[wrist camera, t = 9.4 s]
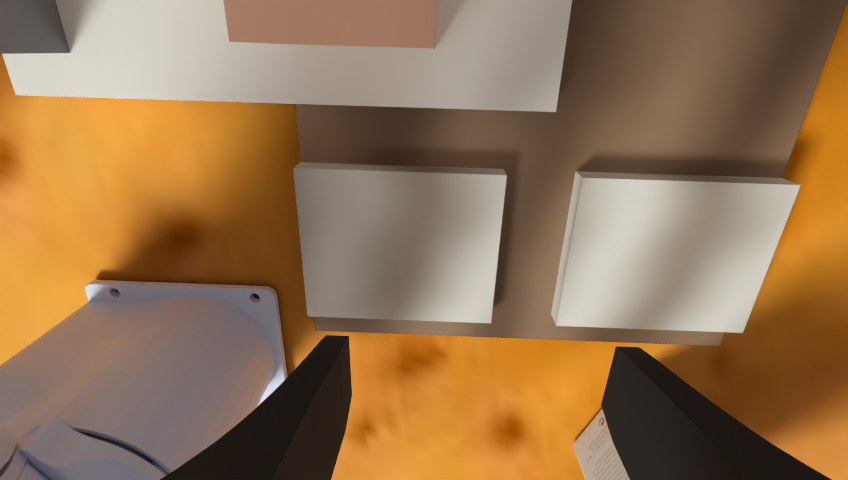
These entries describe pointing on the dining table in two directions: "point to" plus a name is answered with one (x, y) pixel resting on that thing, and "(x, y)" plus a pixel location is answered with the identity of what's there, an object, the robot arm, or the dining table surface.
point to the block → (333, 22)
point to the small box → (599, 452)
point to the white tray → (283, 57)
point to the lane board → (573, 185)
